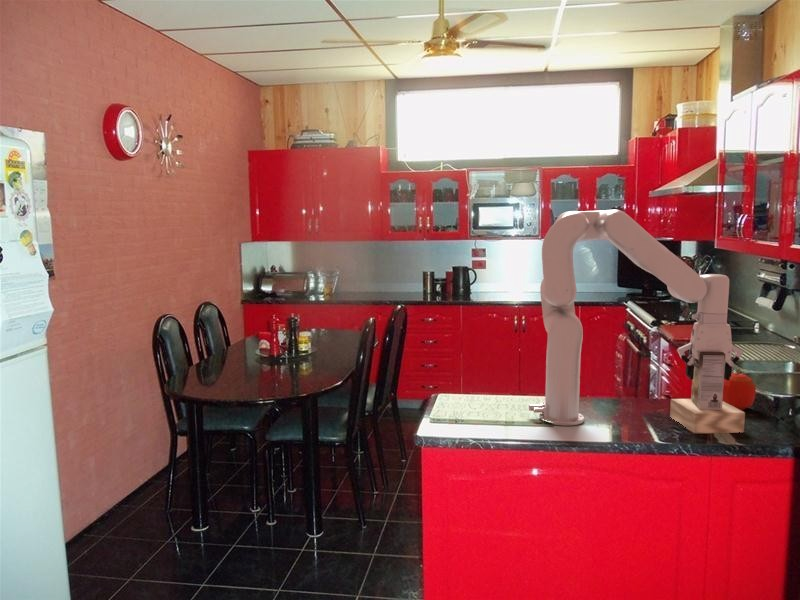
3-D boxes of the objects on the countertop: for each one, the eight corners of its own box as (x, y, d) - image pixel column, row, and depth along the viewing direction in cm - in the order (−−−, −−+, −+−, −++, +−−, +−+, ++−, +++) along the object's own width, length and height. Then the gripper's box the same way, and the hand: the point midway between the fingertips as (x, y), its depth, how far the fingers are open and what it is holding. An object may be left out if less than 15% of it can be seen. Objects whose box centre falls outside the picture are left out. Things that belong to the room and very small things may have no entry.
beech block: (694, 434, 177) (695, 413, 176) (669, 418, 191) (670, 399, 190) (743, 433, 178) (745, 412, 177) (715, 418, 192) (717, 398, 191)
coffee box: (690, 400, 189) (693, 345, 186) (713, 401, 187) (717, 346, 185) (698, 409, 180) (701, 352, 177) (723, 410, 178) (726, 353, 176)
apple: (758, 407, 201) (761, 371, 199) (748, 415, 193) (751, 377, 192) (723, 401, 207) (725, 366, 206) (712, 408, 200) (715, 371, 199)
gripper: (683, 320, 178) (680, 381, 180) (750, 321, 176) (745, 383, 178) (675, 316, 185) (672, 374, 187) (739, 317, 183) (735, 376, 185)
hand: (708, 378), depth 183 cm, fingers open, 9 cm apart
